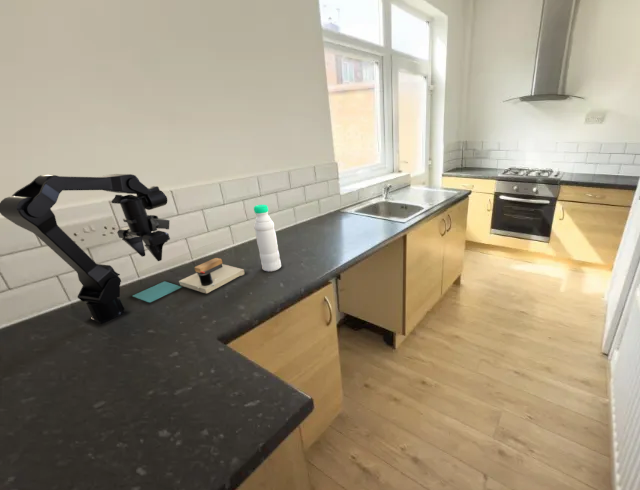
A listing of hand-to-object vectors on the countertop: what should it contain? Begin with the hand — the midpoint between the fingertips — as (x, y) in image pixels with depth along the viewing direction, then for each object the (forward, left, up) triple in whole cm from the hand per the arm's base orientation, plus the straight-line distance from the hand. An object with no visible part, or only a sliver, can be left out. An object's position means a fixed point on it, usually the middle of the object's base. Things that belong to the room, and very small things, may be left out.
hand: (151, 258), depth 108 cm
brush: (+13, -9, -9) cm, 18 cm away
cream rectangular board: (+11, -13, -11) cm, 20 cm away
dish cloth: (-3, -3, -11) cm, 12 cm away
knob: (+6, -17, -9) cm, 20 cm away
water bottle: (+27, -26, -11) cm, 39 cm away
